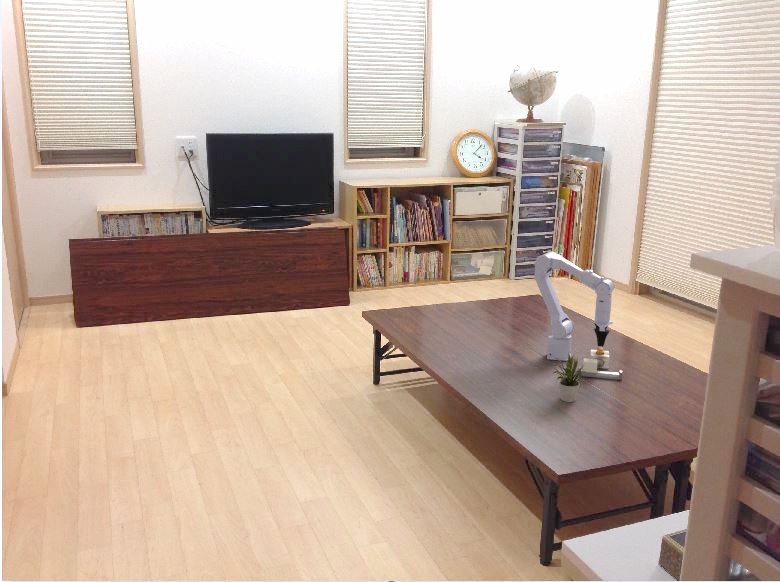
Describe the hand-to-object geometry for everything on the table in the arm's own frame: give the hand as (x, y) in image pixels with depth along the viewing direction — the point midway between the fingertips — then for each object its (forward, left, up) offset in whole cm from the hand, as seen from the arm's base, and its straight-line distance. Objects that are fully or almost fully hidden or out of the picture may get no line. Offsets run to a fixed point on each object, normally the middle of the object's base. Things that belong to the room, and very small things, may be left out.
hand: (600, 343), depth 280 cm
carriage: (-4, -13, -9) cm, 16 cm away
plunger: (0, 0, -4) cm, 4 cm away
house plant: (-12, -36, -10) cm, 39 cm away
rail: (0, -13, -9) cm, 16 cm away
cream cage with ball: (0, 0, -9) cm, 9 cm away
